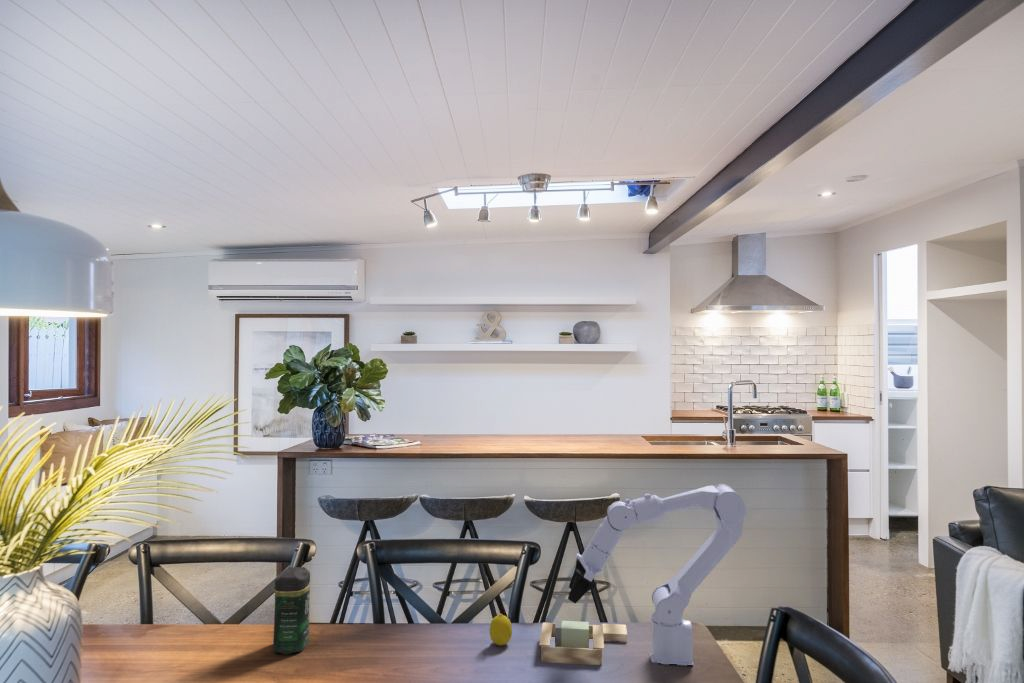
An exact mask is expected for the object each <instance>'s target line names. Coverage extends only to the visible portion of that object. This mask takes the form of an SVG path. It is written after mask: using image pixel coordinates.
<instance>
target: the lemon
mask: <svg viewBox="0 0 1024 683" xmlns="http://www.w3.org/2000/svg"><path fill="white" fill-rule="evenodd" d="M512 634H513V628H512V623H511V620H510V619H509V617H508V616H506V615H504V614H502V613H500V614H498V615H496V616H494V617H493V618H492V620H491V621H490V625H489V637H490V640H491V641H492V642H493V643H494V644H495V645H497V646H498V647H499V646H500V647H501V646H502V647H503V646H504V645H507V644H508V643H509V642H510V641H511V639H512V636H513V635H512Z"/></svg>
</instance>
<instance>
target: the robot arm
mask: <svg viewBox="0 0 1024 683" xmlns="http://www.w3.org/2000/svg"><path fill="white" fill-rule="evenodd" d="M624 501H625V502H624ZM624 501H619V500H617V501H613V503H611V505H610V504H609V505H608V507H607V509H606V510H607V511H606V513H607V515H605V517H604V519H603V520H602V522H601V523H600V524H599V526H598V528H596V531H595V533H594V534H593V535H592V537H591V539H590V541H589V543H588V544H587V546H586V548H584V551H583V553H582V554H580V553H579V552H577V553H576V554H575V558H576V559H575V567H574V568H575V569H574V571H573V574H572V576H571V579H570V583H569V585H568V589H569V593H568V598H567V600H569V601H570V602H572V603H573V604H577V603H578V602H579V601H580V600H581V599H582V598H583V597H584V596H585V595H586V594H587V593H588V592H589V591H590V590H592V589H594V588H596V586H597V585H598V582H596V581H594V578H595V576H597V575H600V574H601V573H602V572H603V568H604V567H605V565H606V564H607V562H608V560H609V558H610V556H611V555H612V553H613V552H614V550H615V548H616V547H617V545H618V543H619V542H620V540H621V537H622V535H623V534H624V532H625V531H627V530H629V529H630V528H631V527H632V526H633V525H639V524H640V525H641V524H644V523H648V522H653V521H657V520H661V519H662V518H663V517H664V515H665V514H666V513H669V512H673V511H674V512H675V511H680V510H685V509H686V510H687V509H691V508H695V507H696V508H698V507H700V508H702V509H705V510H708V511H710V512H714V513H715V516H716V523H717V528H716V529H715V530H714V531H713V533H712V534H711V535H710V536H709V537H708V539H707V540H705V542H704V543H703V544H702V545H701V546H700V548H699V549H698V550H697V551H696V552H695V553H694V554H693V556H692V557H691V558H690V559H689V560H688V561H687V562H686V564H685V565H684V566H683V567H682V568H681V569H680V570H679V571H678V573H677V574H676V575H675V576H674V577H671V578H669V579H667V581H666V582H665V583H663V584H660V585H658V586H657V587H655V589H654V590H653V591H652V593H651V602H652V604H653V607H654V611H653V613H652V614H651V647H652V653H651V654H652V655H651V654H650V653H649V656H650V660H651V662H652V663H657V664H658V663H662V664H661V665H669V664H677V665H676V666H687V665H693V666H694V657H693V656H694V650H693V649H694V645H693V643H694V640H693V638H694V637H693V626H692V621H691V620H687V619H683V614H684V611H685V609H686V608H687V606H689V603H690V601H691V600H690V599H691V597H692V594H693V593H694V592H695V591H696V590H697V588H698V587H699V586H700V585H701V584H702V583H703V582H704V580H705V579H706V578H707V577H708V576H709V575H710V574H711V572H712V571H713V570H714V569H715V568H716V567H717V565H719V563H720V562H721V561H722V560H723V559H724V558H725V556H727V554H728V553H729V552H730V550H732V548H733V547H734V546H735V545H736V544H737V543H738V541H739V540H740V539H741V537H742V533H743V528H744V520H745V516H746V514H747V510H746V505H745V502H744V499H743V497H742V496H741V494H739V493H738V492H736V491H735V490H734V488H733V487H731V486H730V485H728V484H725V483H719V484H716V485H706V486H703V487H700V488H697V489H696V488H695V489H692V490H688V491H685V492H680V493H677V494H673V495H670V496H667V497H666V496H665V497H660V496H658V495H657V494H650V493H644V496H642V497H638V498H635V499H630V498H625V500H624Z"/></svg>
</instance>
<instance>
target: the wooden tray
mask: <svg viewBox="0 0 1024 683" xmlns="http://www.w3.org/2000/svg"><path fill="white" fill-rule="evenodd" d="M555 624H556V622H555V623H554V622H542V626H541V632H540V637H539V638H540V639H539V642H538V643H539V644H538V646H539V647H540V656H541V657H540V662H541V663H552V664H553V663H555V664H571V665H573V664H574V665H589V666H591V665H592V666H602V665H603V650H605V641H604V638H603V625H602V624H589V639H593V649H589V648H570V647H551V646H550V642H551V637H555Z"/></svg>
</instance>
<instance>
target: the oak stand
mask: <svg viewBox="0 0 1024 683" xmlns="http://www.w3.org/2000/svg"><path fill="white" fill-rule="evenodd" d="M601 625H603V638H604V642H610V641H619V642H618V643H628V631H627V625H626V624H622V623H621V624H617V623H602V624H601Z"/></svg>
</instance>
